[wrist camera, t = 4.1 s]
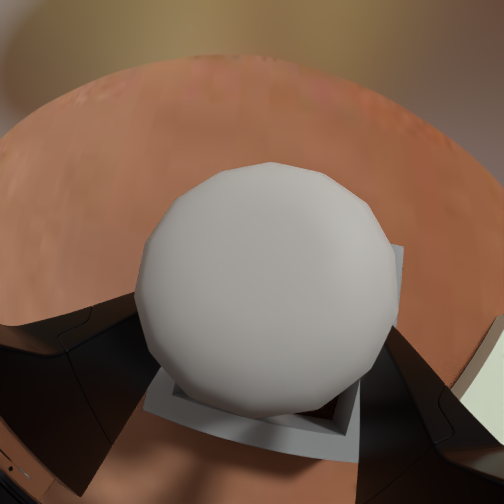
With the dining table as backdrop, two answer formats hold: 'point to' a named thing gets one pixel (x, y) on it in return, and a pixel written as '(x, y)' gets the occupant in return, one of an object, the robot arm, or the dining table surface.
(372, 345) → the salt shaker
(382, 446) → the robot arm
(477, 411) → the tray
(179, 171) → the dining table surface
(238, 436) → the holder
